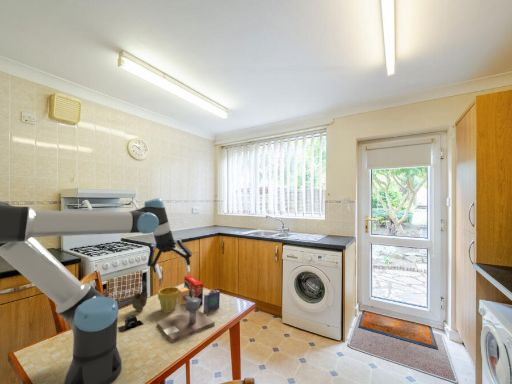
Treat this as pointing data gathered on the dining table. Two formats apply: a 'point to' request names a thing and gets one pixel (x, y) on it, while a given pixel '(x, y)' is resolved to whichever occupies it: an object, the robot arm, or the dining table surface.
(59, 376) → the dining table surface
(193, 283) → the toy box
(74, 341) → the robot arm
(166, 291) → the plant pot
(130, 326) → the black rounded lump
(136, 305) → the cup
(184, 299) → the grey joystick lever
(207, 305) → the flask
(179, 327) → the post base
